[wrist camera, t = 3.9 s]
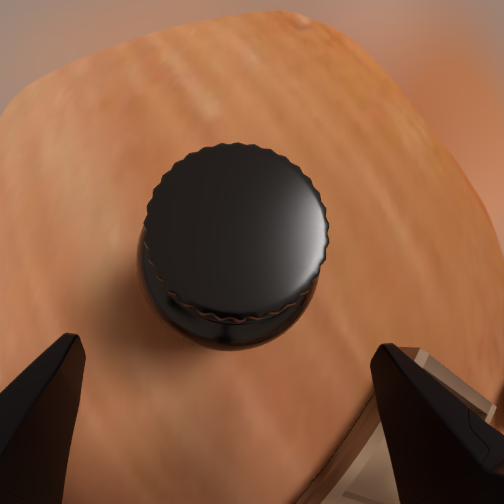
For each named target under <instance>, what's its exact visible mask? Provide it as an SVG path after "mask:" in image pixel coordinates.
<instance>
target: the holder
mask: <svg viewBox="0 0 504 504" xmlns="http://www.w3.org/2000/svg"><path fill="white" fill-rule="evenodd" d="M399 349H400V350H402V351H403V352H404V353H405V354H406V355H408V356H409V357H410V358H411V359H412V360H413V361H415V362H416V363H417V364H418V365H419V366H421V367H422V368H423V369H424V370H425V371H427V372H428V373H429V374H430V375H431V376H432V377H434V378H435V379H436V380H437V381H438V382H439V383H441V384H442V385H443V386H444V387H445V388H447V389H448V390H449V391H450V392H451V393H452V394H454V395H455V396H456V397H457V398H458V399H459V400H460V401H462V402H463V403H464V404H465V405H466V406H467V408H470V409H471V410H472V411H473V412H474V413H476V414H477V415H478V416H479V417H480V418H482V419H483V420H484V421H485V422H487V423H488V424H490V421H491V419H492V417H493V415H494V413H495V410H496V408H497V407H496V406H495V405H493V404H492V403H491V402H490V401H488V400H487V399H486V398H485V397H483V396H482V395H481V394H480V393H478V392H477V391H476V390H474V389H473V388H472V387H471V386H469V385H468V384H467V383H465V382H464V381H463V380H462V379H460V378H459V377H458V376H456V375H455V374H454V373H453V372H451V371H450V370H449V369H447V368H446V367H445V366H444V365H442V364H441V363H440V362H438V361H437V360H436V359H434V358H433V357H432V356H431V355H429V354H428V353H427V352H425V351H424V350H423V349H421V348H410V347H399ZM295 504H400V501H399V496H398V492H397V487H396V482H395V477H394V473H393V468H392V464H391V460H390V456H389V451H388V447H387V443H386V439H385V435H384V431H383V427H382V424H381V420H380V416H379V412H378V408H377V403H376V397H375V393H374V395H373V397H372V398H371V400H370V401H369V403H368V405H367V406H366V408H365V410H364V411H363V413H362V414H361V416H360V418H359V419H358V421H357V422H356V424H355V425H354V427H353V428H352V430H351V431H350V433H349V434H348V436H347V437H346V439H345V440H344V441H343V443H342V444H341V446H340V447H339V449H338V450H337V451H336V453H335V454H334V455H333V457H332V458H331V460H330V461H329V462H328V464H327V465H326V466H325V467H324V469H323V470H322V471H321V473H320V474H319V475H318V476H317V478H316V479H315V480H314V481H313V483H312V484H311V485H310V486H309V488H308V489H307V490H306V491H305V492H304V494H303V495H302V496H301V497H300V498H299V499H298V501H297V502H296V503H295Z"/></svg>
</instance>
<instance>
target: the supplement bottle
mask: <svg viewBox="0 0 504 504" xmlns="http://www.w3.org/2000/svg"><path fill="white" fill-rule="evenodd" d="M147 213H148V214H147V216H146V218H145V221H144V226H143V228H142V231H141V234H140V237H139V242H138V247H137V273H138V278H139V283H140V286H141V289H142V292H143V294H144V297H145V299H146V301H147V303H148V304H149V306H150V308H151V309H152V311H153V312H154V314H155V315H156V316H157V318H158V319H159V320H160V321H161V322H162V323H163V324H164V325H165V326H166V327H167V328H168V329H169V330H171V331H172V332H173V333H175V334H176V335H177V336H179V337H181V338H182V339H184V340H186V341H188V342H190V343H192V344H195V345H197V346H200V347H203V348H207V349H212V350H218V351H241V350H247V349H251V348H255V347H258V346H261V345H264V344H266V343H269V342H270V341H272V340H274V339H276V338H278V337H279V336H281V335H282V334H284V333H285V332H286V331H287V330H289V329H290V328H291V327H292V326H293V325H294V324H295V323H296V322H297V321H298V320H299V318H300V317H301V316H302V315H303V313H304V312H305V310H306V309H307V307H308V305H309V303H310V302H311V300H312V298H313V295H314V292H315V290H316V286H317V283H318V278H319V273H320V266H321V265H322V264H323V263H324V261H325V260H326V248H327V246H328V244H329V237H328V234H327V232H328V229H329V223H328V220H327V218H326V208H325V206H324V204H323V203H322V202H321V197H320V193H319V192H318V191H317V190H316V189H315V188H314V187H313V184H312V181H311V179H310V178H309V177H307V176H306V175H304V174H303V173H302V171H301V169H300V167H299V166H297V165H295V164H292V163H291V162H290V161H289V160H288V159H287V158H286V157H285V156H282V155H278V154H276V153H275V152H274V151H272V150H271V149H264V148H260V147H259V146H257V145H255V144H251V145H245V144H242V143H238V142H237V143H233V144H224V143H220V144H218V145H216V146H214V147H204V148H202V149H201V150H199V151H198V152H193V153H189V154H188V155H187V156H186V157H185V158H184V159H183V160H181V161H178V162H176V163H175V164H174V165H173V167H172V169H171V170H170V171H168V172H167V173H165V174H164V175H163V176H162V179H161V183H160V184H159V185H157V186H156V187H155V188H154V189H153V198H152V199H151V200H150V201H149V203H148V205H147Z"/></svg>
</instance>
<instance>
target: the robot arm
mask: <svg viewBox="0 0 504 504" xmlns="http://www.w3.org/2000/svg"><path fill="white" fill-rule="evenodd" d="M85 360H86V355H85V351H84V348H83V345H82V343H81V340H80V337H79V336H78V335H77V334H73V333H65V334H63V335H62V336H61V337H60V338H59V339H57V340H56V341H55V342H54V343H53V344H52V345H51V346H50V347H49V348H47V349H46V350H45V351H44V352H43V353H42V354H41V355H40V356H39V357H38V358H37V359H35V360H34V361H33V362H32V363H31V364H30V365H29V366H28V367H27V368H26V369H25V370H24V371H23V372H22V373H21V374H19V375H18V376H17V377H16V378H15V379H14V380H13V381H12V382H11V383H10V384H9V385H8V386H7V387H6V388H5V389H4V390H3V391H2V392H1V393H0V504H62V498H63V490H64V483H65V476H66V469H67V463H68V457H69V451H70V446H71V441H72V436H73V431H74V426H75V421H76V417H77V412H78V408H79V402H80V395H81V387H82V380H83V373H84V366H85ZM370 368H371V374H372V380H373V385H374V391H375V397H376V403H377V408H378V412H379V416H380V420H381V424H382V427H383V431H384V435H385V439H386V443H387V447H388V451H389V456H390V460H391V464H392V468H393V473H394V477H395V482H396V487H397V492H398V496H399V501H400V504H504V435H503V434H501V433H500V432H499V431H497V430H496V429H495V428H493V427H492V426H491V425H489V424H488V423H487V422H485V421H484V420H483V419H482V418H480V417H479V416H478V415H477V414H476V413H474V412H473V411H472V410H471V409H470V408H467V406H466V405H465V404H464V403H463V402H462V401H460V400H459V399H458V398H457V397H456V396H455V395H454V394H452V393H451V392H450V391H449V390H448V389H447V388H445V387H444V386H443V385H442V384H441V383H439V382H438V381H437V380H436V379H435V378H434V377H432V376H431V375H430V374H429V373H428V372H427V371H425V370H424V369H423V368H422V367H421V366H419V365H418V364H417V363H416V362H415V361H413V360H412V359H411V358H410V357H409V356H408V355H406V354H405V353H404V352H403V351H402V350H400V349H399V348H398V347H397V346H396V345H394V344H393V343H385V344H381V345H380V346H379V347H378V349H377V351H376V352H375V354H374V356H373V358H372V359H371V363H370Z"/></svg>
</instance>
